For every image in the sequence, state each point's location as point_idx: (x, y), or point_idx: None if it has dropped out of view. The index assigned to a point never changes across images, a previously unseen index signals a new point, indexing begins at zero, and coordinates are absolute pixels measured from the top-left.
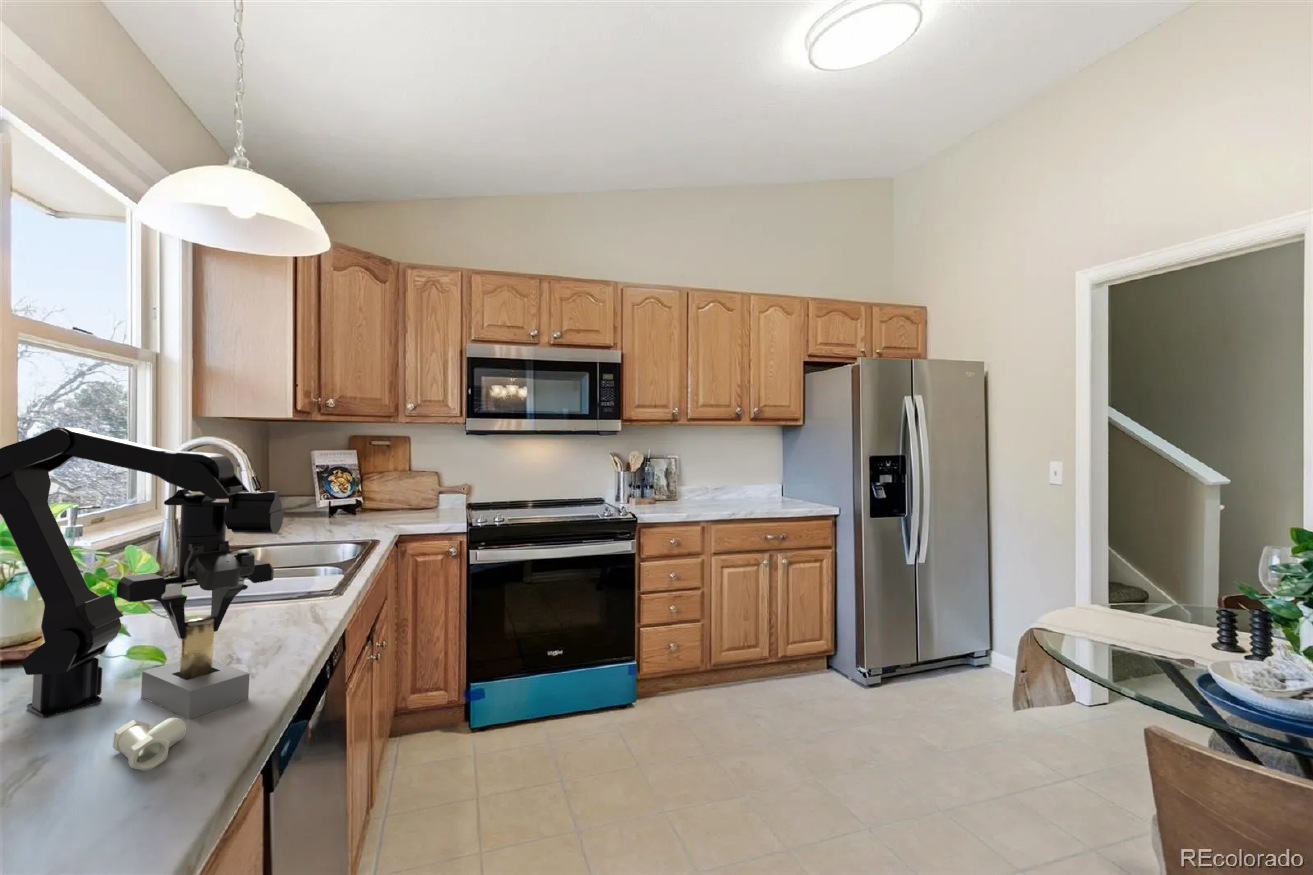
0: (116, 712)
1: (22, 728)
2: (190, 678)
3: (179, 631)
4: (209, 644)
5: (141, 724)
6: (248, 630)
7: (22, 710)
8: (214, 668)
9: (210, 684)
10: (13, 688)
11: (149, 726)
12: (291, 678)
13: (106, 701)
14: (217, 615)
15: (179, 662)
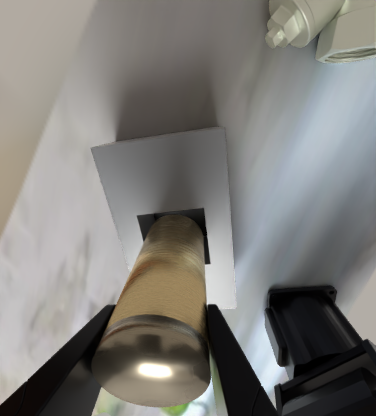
0: (272, 244)
1: (360, 274)
2: None
3: (227, 326)
4: (144, 260)
5: (372, 7)
6: None
7: None
8: (142, 238)
9: (178, 138)
10: None
11: (346, 14)
12: (32, 185)
13: (262, 290)
14: (79, 363)
15: None
